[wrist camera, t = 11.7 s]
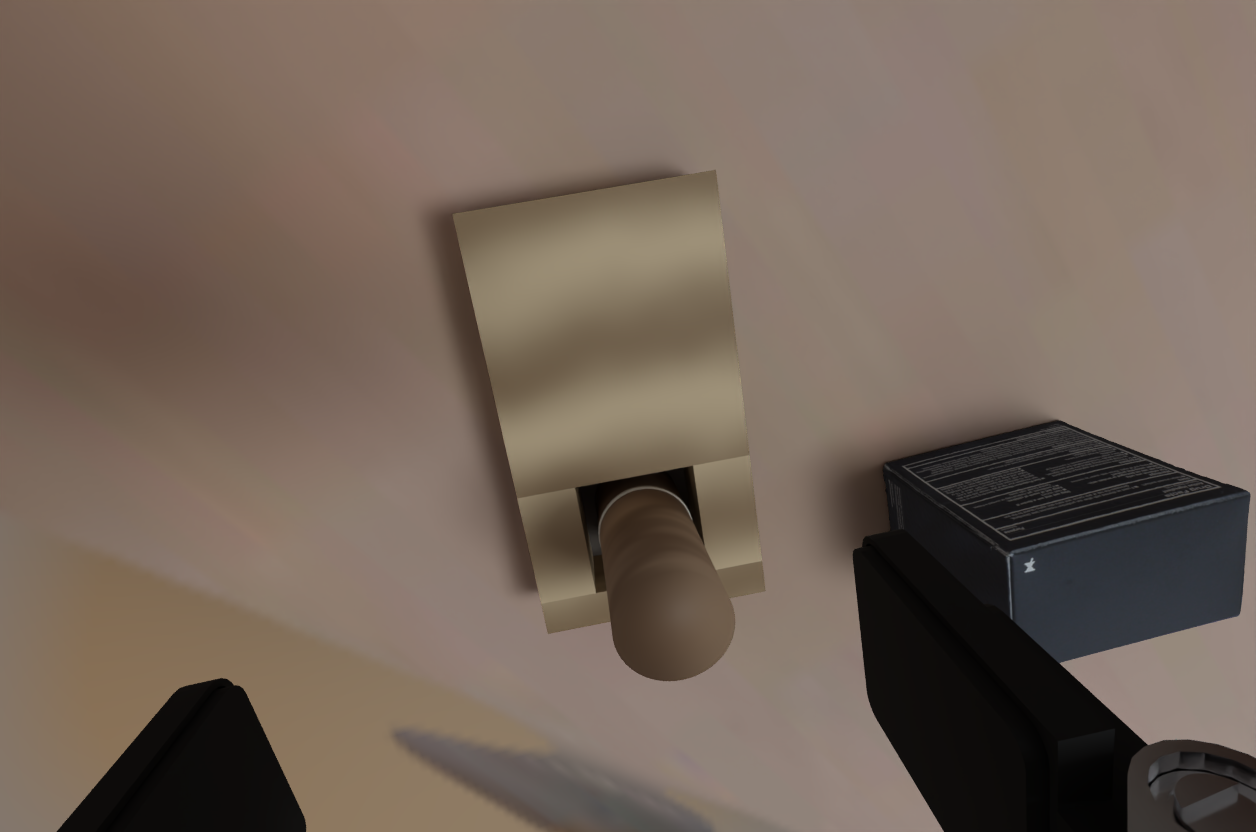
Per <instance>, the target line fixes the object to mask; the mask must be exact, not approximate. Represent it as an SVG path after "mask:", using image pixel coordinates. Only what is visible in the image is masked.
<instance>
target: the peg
mask: <svg viewBox="0 0 1256 832" xmlns="http://www.w3.org/2000/svg"><path fill="white" fill-rule="evenodd" d="M595 504H596V512H597V520H598V535H599V542H600V546H601V551H602V558H603V566H604V574H605V581H606V589H607V597H608V605H609V612H610V620H611V628H612V635H613V641H614V645H615V648H616V650H617V652H618V654H619V656H620V657H621V659H622V660H623V661H624V662H625V664H626V665H627V666H629V667H630V668H631V669H632V670H634V671H635V672H637V673H638V674H640V675H642V676H645V677H647V678H650V679H655V680H660V681H677V680H683V679H687V678H691V677H693V676H696V675H698V674H700V673H702V672H704V671H706V670H707V669H709V668H710V667H712V666H713V665H714V664H715V663H716V662H717V661H718V660H719V659H720V658H721V657H722V656H723V654H724V653H725V652H726V650H727V648H728V647H729V645H730V643H731V640H732V638H733V634H734V630H735V614H734V609H733V606H732V603H731V601H730V599H729V597H728V595H727V593H726V590H725V588H724V586H723V584H722V582H721V580H720V578H719V576H718V574H717V571H716V569H715V567H714V565H713V563H712V561H711V559H710V557H709V555H708V553H707V550H706V548H705V546H704V544H703V542H702V540H701V538H700V536H699V534H698V532H697V529H696V527H695V525H694V523H693V521H692V518H691V515H690V512H689V510H688V508H687V507H686V505H685V504H684V502H683V500H682V498H681V496H680V494H679V492H678V490H677V487H676V485H675V483H674V481H673V479H672V478H671V476H670V475H669V474H668V473H667V472H666V471H662V472H656V473H651V474H646V475H640V476H635V477H630V478H624V479H619V480H613V481H608V482H603V483H599V485H598V488H597V491H596V496H595Z"/></svg>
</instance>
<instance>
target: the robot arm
mask: <svg viewBox="0 0 1256 832" xmlns="http://www.w3.org/2000/svg"><path fill="white" fill-rule="evenodd" d="M853 565H854V574H855V583H856V593H857V602H858V612H859V621H860V631H861V640H862V650H863V659H864V669H865V678H866V688H867V695H868V699H869V702H870V705H871V708H872V711H873V713H874V715H875V717H876V719H877V721H878V722H879V724H880V726H881V727H882V729H883V731H884V732H885V734H886V736H887V737H888V739H889V741H890V742H891V744H892V746H893V747H894V749H895V751H896V752H897V754H898V756H899V757H900V759H901V761H902V762H903V764H904V766H905V767H906V769H907V771H908V772H909V774H910V776H911V777H912V779H913V781H914V782H915V784H916V786H917V787H918V789H919V791H920V792H921V794H922V796H923V797H924V799H925V801H926V802H927V804H928V806H929V807H930V809H931V811H932V812H933V814H934V816H935V817H936V819H937V821H938V822H939V824H940V826H941V827H942V829H943V831H944V832H1256V758H1254V757H1252V756H1250V755H1248V754H1245V753H1242V752H1239V751H1236V750H1233V749H1230V748H1227V747H1224V746H1221V745H1218V744H1213V743H1207V742H1201V741H1195V740H1163V741H1160V742H1157V743H1154V744H1151V745H1147V744H1146V743H1145V742H1144V741H1143V740H1142V739H1141V738H1140V737H1139V736H1138V735H1136V734H1135V733H1134V732H1133V731H1132V730H1131V729H1130V728H1129V727H1128V726H1127V725H1126V724H1125V723H1123V722H1122V721H1121V720H1120V719H1119V718H1118V717H1117V716H1116V715H1115V714H1114V713H1113V712H1111V711H1110V710H1109V709H1108V708H1107V707H1106V706H1105V705H1104V704H1103V703H1102V702H1101V701H1100V700H1098V699H1097V698H1096V697H1095V696H1094V695H1093V694H1092V693H1091V692H1090V691H1089V690H1088V689H1087V688H1085V687H1084V686H1083V685H1082V684H1081V683H1080V682H1079V681H1078V680H1077V679H1076V678H1075V677H1074V676H1072V675H1071V674H1070V673H1069V672H1068V671H1067V670H1066V669H1065V668H1064V667H1063V666H1062V665H1061V664H1059V663H1058V662H1057V661H1056V660H1055V659H1054V658H1053V657H1052V656H1051V655H1050V654H1049V653H1047V652H1046V651H1045V650H1044V649H1043V648H1042V647H1041V646H1040V645H1039V644H1038V643H1037V642H1036V641H1034V640H1033V639H1032V638H1031V637H1030V636H1029V635H1028V634H1027V633H1026V632H1025V631H1024V630H1023V629H1021V628H1020V627H1019V626H1018V625H1017V624H1016V623H1015V622H1014V621H1013V620H1012V619H1011V618H1010V617H1008V616H1007V615H1006V614H1005V613H1004V612H1003V611H1002V610H1000V609H999V608H997V607H996V606H995V605H991V604H983V603H982V602H981V601H980V600H979V599H978V598H977V597H975V596H974V595H973V594H972V593H971V592H970V591H969V590H968V589H967V588H966V587H965V586H964V585H963V584H962V583H961V582H960V581H959V580H958V579H956V578H955V577H954V576H953V575H952V574H951V573H950V572H949V571H948V570H947V569H946V568H945V567H944V566H943V565H942V564H941V563H940V562H939V561H938V560H936V559H935V558H934V557H933V556H932V555H931V554H930V553H929V552H928V551H927V550H926V549H925V548H924V547H923V546H922V545H921V544H920V543H919V542H917V541H916V540H915V539H914V538H913V537H912V536H911V535H910V534H909V533H908V532H907V531H905V530H904V529H898V530H893V531H889V532H884V533H879V534H875V535H870V536H866V537H865V538H864V539H863V544H862V547H861V548H857V549H854V551H853ZM57 832H306V822H305V818H304V816H303V814H302V811H301V809H300V808H299V805H298V803H297V801H296V799H295V796H294V794H293V792H292V790H291V788H290V786H289V784H288V781H287V779H286V777H285V775H284V773H283V771H282V769H281V767H280V764H279V762H278V760H277V758H276V756H275V754H274V752H273V750H272V748H271V745H270V743H269V741H268V739H267V737H266V735H265V733H264V731H263V728H262V726H261V724H260V722H259V720H258V718H257V715H256V713H255V711H254V709H253V707H252V705H251V703H250V701H249V698H248V696H247V694H246V692H245V691H244V689H243V688H241V687H240V686H236V685H235V686H234V685H233V684H232V682H230V681H229V680H228V679H223V678H220V679H215V680H211V681H206V682H202V683H197V684H193V685H188V686H185V687H182V688H179V689H178V690H177V691H176V692H175V693H174V694H173V695H172V696H171V697H170V698H169V700H168V701H167V702H166V703H165V705H164V706H163V707H162V708H161V709H160V710H159V712H158V713H157V714H156V715H155V716H154V717H153V718H152V720H151V721H150V722H149V723H148V725H147V726H146V727H145V728H144V729H143V730H142V731H141V733H140V734H139V735H138V736H137V737H136V739H135V740H134V741H133V742H132V743H131V745H130V746H129V747H128V748H127V749H126V750H125V752H124V753H123V754H122V755H121V756H120V758H119V759H118V760H117V761H116V762H115V763H114V765H113V766H112V767H111V768H110V769H109V771H108V772H107V773H106V774H105V775H104V776H103V778H102V779H101V780H100V781H99V782H98V784H97V785H96V786H95V787H94V788H93V789H92V791H91V792H90V793H89V794H88V795H87V797H86V798H85V799H84V800H83V801H82V802H81V804H80V805H79V806H78V807H77V808H76V810H75V811H74V812H73V813H72V814H71V815H70V817H69V818H68V819H67V820H66V821H65V822H64V824H63V825H62V826H61V827H60V829H59V830H58V831H57Z"/></svg>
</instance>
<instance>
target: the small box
mask: <svg viewBox="0 0 1256 832" xmlns="http://www.w3.org/2000/svg"><path fill="white" fill-rule="evenodd" d="M883 472H884V474H883V476H884V481H885V483H886V492H887V500H888V507H889V520H890V527H891V531H893V530H898V529H904V530H905V531H907V532H908V533H909V534H910V535H911V536H912V537H913V538H914V539H915V540H916V541H917V542H919V543H920V544H921V545H922V546H923V547H924V548H925V549H926V550H927V551H928V552H929V553H930V554H931V555H932V556H933V557H934V558H935V559H936V560H938V561H939V562H940V563H941V564H942V565H943V566H944V567H945V568H946V569H947V570H948V571H949V572H950V573H951V574H952V575H953V576H954V577H955V578H956V579H958V580H959V581H960V582H961V583H962V584H963V585H964V586H965V587H966V588H967V589H968V590H969V591H970V592H971V593H972V594H973V595H974V596H975V597H977V598H978V599H979V600H980V601H981V602H982V603H983V604H991V605H995V606H996V607H997V608H999V609H1000V610H1002V611H1003V612H1004V613H1005V614H1006V615H1007V616H1008V617H1010V618H1011V619H1012V620H1013V621H1014V622H1015V623H1016V624H1017V625H1018V626H1019V627H1020V628H1021V629H1023V630H1024V631H1025V632H1026V633H1027V634H1028V635H1029V636H1030V637H1031V638H1032V639H1033V640H1034V641H1036V642H1037V643H1038V644H1039V645H1040V646H1041V647H1042V648H1043V649H1044V650H1045V651H1046V652H1047V653H1049V654H1050V655H1051V656H1052V657H1053V658H1054V659H1055V660H1056V661H1057V662H1058V663H1061V662H1064V661H1068V660H1072V659H1075V658H1079V657H1083V656H1087V655H1090V654H1094V653H1098V652H1102V651H1105V650H1109V649H1113V648H1117V647H1121V646H1124V645H1128V644H1132V643H1136V642H1140V641H1143V640H1147V639H1151V638H1155V637H1158V636H1162V635H1166V634H1170V633H1174V632H1178V631H1181V630H1185V629H1189V628H1193V627H1197V626H1201V625H1205V624H1208V623H1212V622H1216V621H1220V620H1224V619H1228V618H1232V617H1236V616H1238V615H1239V614H1240V611H1241V603H1242V595H1243V583H1244V566H1245V552H1246V540H1247V524H1248V513H1249V503H1250V493H1249V492H1248V491H1246V490H1243V489H1241V488H1238V487H1235V486H1232V485H1229V484H1224V483H1221V482H1219V481H1215V480H1213V479H1210V478H1207V477H1204V476H1200V475H1198V474H1195V473H1193V472H1190V471H1186V470H1185V469H1182V468H1179V467H1175V466H1173V465H1171V464H1168V463H1166V462H1163V461H1161V460H1159V459H1156V458H1153V457H1150V456H1148V455H1145V454H1143V453H1140V452H1137V451H1135V450H1132V449H1130V448H1127V447H1125V446H1122V445H1119V444H1117V443H1114V442H1111V441H1108V440H1106V439H1104V438H1102V437H1099V436H1096V435H1093V434H1091V433H1089V432H1086V431H1084V430H1081V429H1079V428H1077V427H1074V426H1072V425H1069V424H1067V423H1065V422H1063V421H1055V422H1051V423H1047V424H1043V425H1038V426H1034V427H1030V428H1026V429H1022V430H1018V431H1014V432H1010V433H1006V434H1001V435H998V436H993V437H989V438H985V439H981V440H977V441H973V442H969V443H965V444H961V445H957V446H953V447H949V448H945V449H941V450H937V451H933V452H929V453H924V454H921V455H916V456H913V457H909V458H905V459H901V460H897V461H893V462H889V463H886V464H885V466H884V468H883Z"/></svg>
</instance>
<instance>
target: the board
mask: <svg viewBox="0 0 1256 832" xmlns="http://www.w3.org/2000/svg"><path fill="white" fill-rule="evenodd" d="M452 215H453V220H454V224H455V229H456V233H457V237H458V242H459V246H460V250H461V255H462V259H463V264H464V268H465V272H466V277H467V281H468V285H469V290H470V294H471V299H472V303H473V307H474V312H475V316H476V320H477V325H478V329H479V334H480V338H481V342H482V347H483V351H484V356H485V360H486V364H487V369H488V373H489V377H490V382H491V386H492V391H493V395H494V399H495V404H496V408H497V412H498V417H499V421H500V426H501V430H502V434H503V439H504V443H505V447H506V452H507V456H508V461H509V465H510V469H511V474H512V478H513V482H514V487H515V491H516V496H517V500H518V504H519V509H520V513H521V518H522V522H523V526H524V531H525V535H526V539H527V544H528V548H529V553H530V557H531V561H532V566H533V570H534V574H535V579H536V583H537V588H538V592H539V596H540V601H541V605H542V609H543V614H544V618H545V623H546V627H547V631H548V634H550V633H555V632H560V631H565V630H570V629H575V628H580V627H585V626H591V625H596V624H601V623H606V622H611V620H610V612H609V605H608V597H607V589H606V581H605V574H604V566H603V558H602V551H601V546H600V542H599V535H598V520H597V512H596V504H595V496H596V491H597V488H598V485H599V483H603V482H608V481H613V480H619V479H624V478H630V477H635V476H640V475H646V474H651V473H656V472H662V471H666V472H667V473H668V474H669V475H670V476H671V478H672V479H673V481H674V483H675V485H676V487H677V490H678V492H679V494H680V496H681V498H682V500H683V502H684V504H685V505H686V507H687V508H688V510H689V512H690V515H691V518H692V521H693V523H694V525H695V527H696V529H697V532H698V534H699V536H700V538H701V540H702V542H703V544H704V546H705V548H706V550H707V553H708V555H709V557H710V559H711V561H712V563H713V565H714V567H715V569H716V571H717V574H718V576H719V578H720V580H721V582H722V584H723V586H724V588H725V590H726V593H727V595H728V597H729V598H733V597H738V596H743V595H748V594H754V593H759V592H764V591H765V583H764V574H763V566H762V557H761V549H760V540H759V532H758V523H757V515H756V506H755V498H754V489H753V481H752V472H751V464H750V455H749V447H748V438H747V430H746V421H745V413H744V404H743V396H742V387H741V379H740V370H739V362H738V354H737V345H736V337H735V328H734V320H733V311H732V303H731V294H730V286H729V277H728V269H727V260H726V252H725V243H724V235H723V226H722V218H721V209H720V201H719V192H718V184H717V175H716V170H712V171H706V172H700V173H694V174H688V175H682V176H676V177H670V178H664V179H658V180H652V181H646V182H640V183H634V184H628V185H622V186H616V187H611V188H605V189H599V190H593V191H587V192H581V193H575V194H569V195H563V196H557V197H551V198H545V199H539V200H533V201H527V202H521V203H515V204H509V205H503V206H497V207H491V208H485V209H479V210H473V211H467V212H461V213H455V214H452Z"/></svg>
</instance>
